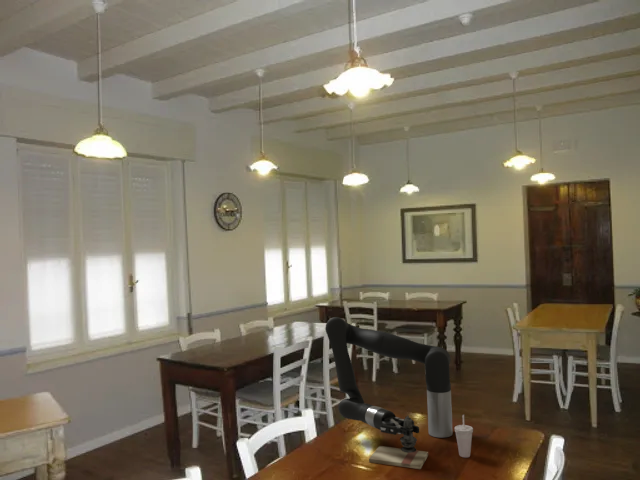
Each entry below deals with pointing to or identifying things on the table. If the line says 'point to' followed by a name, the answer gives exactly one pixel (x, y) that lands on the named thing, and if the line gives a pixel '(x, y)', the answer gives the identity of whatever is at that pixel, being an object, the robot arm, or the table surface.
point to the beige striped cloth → (398, 457)
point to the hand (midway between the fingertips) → (414, 431)
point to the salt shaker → (408, 437)
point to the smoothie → (464, 439)
